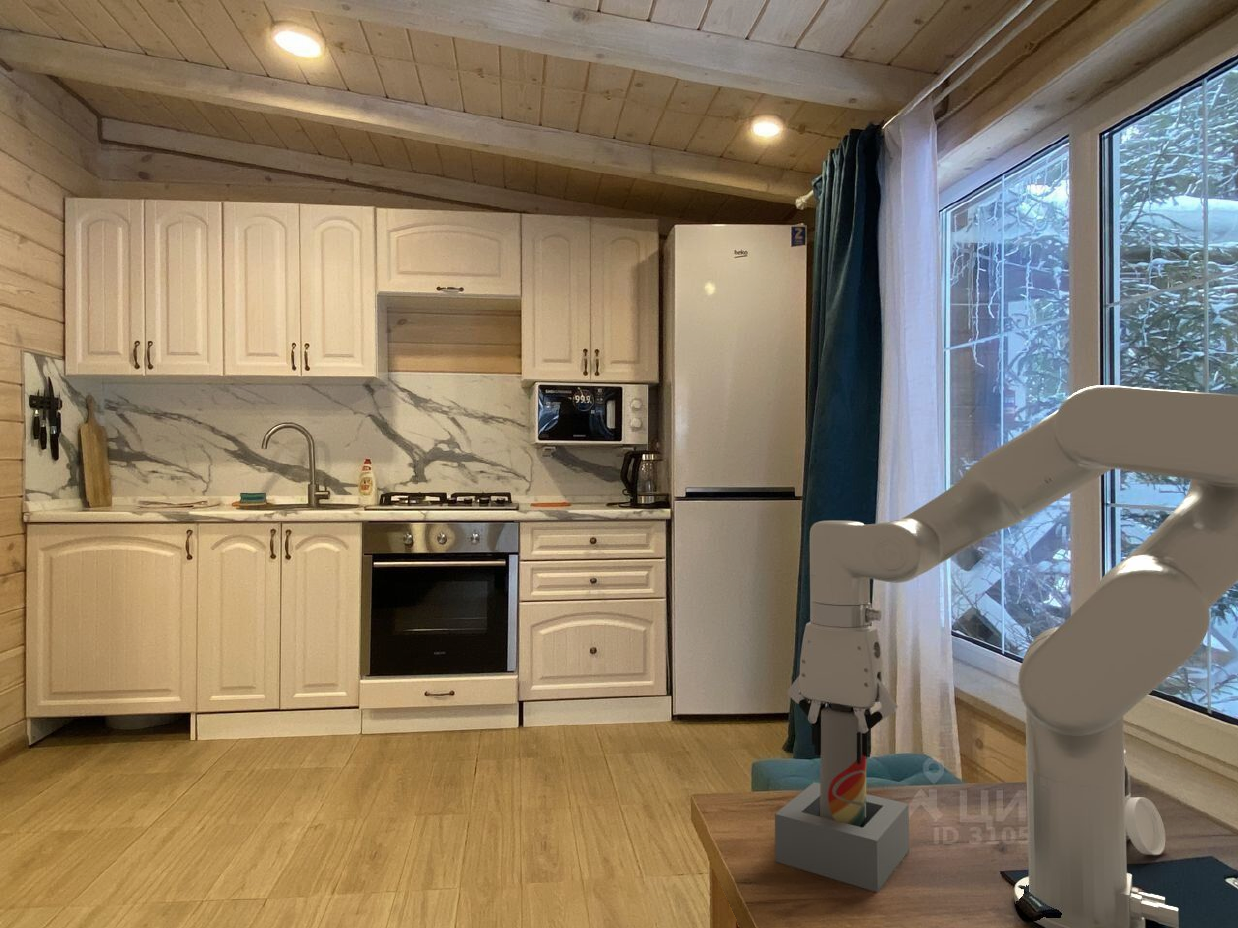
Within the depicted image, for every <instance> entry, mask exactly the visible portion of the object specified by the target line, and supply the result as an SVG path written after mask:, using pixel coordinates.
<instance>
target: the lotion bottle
mask: <svg viewBox="0 0 1238 928" xmlns="http://www.w3.org/2000/svg"><path fill="white" fill-rule="evenodd" d="M859 728H860V727H859V720H858V717H856V716H855V713H854V709H853V708H852V707H847V706H844V705H841V704H829V703H828V705H827V706H826V707H824V708H822V710H821V755H820V769H819V770H820V772H819V773H820V775H819V776H820V777H819V779H820V782H819V783H820V817H823V818H827V819H831V820H835V821H838V822H842V823H846V824H850V825H854V826H858V827H862V828H863V827H864V826H865V825H866V794H867V759H866V756H863V755H862V733H861V764H858V763H857V733H858V732H860V731H859Z"/></svg>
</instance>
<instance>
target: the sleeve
mask: <svg viewBox="0 0 1238 928" xmlns="http://www.w3.org/2000/svg"><path fill="white" fill-rule="evenodd" d="M909 805H910V804H909V803H906V802H902V801H899V800H893V799H889V798H886V797H880V796H876V795H873V794H872V795H871V794H868V793H866V825H865V826H864V827H863V828H862V827H858V826H854V825H850V824H846V823H842V822H838V821H835V820H831V819H827V818H823V817H820V782H815V781H814V782H812V783H811V784H809V785H808V786H807V787H806V788H805V789H804V790H802V792H800V793H799V794H797V795H796V796H795V797H794V798H792V799H791V800H790V801H789V802H787V803H786V804H785V805H784V806H783V807H781V808H780V809H779V810H778V811H776V813H774V842H775V843H774V848H775V850H774V852H775V860H774V861H775V862H776V863H778V864H783V865H786V866H789V867H792V868H795V869H799V870H802V871H806V872H810V873H812V874H815V875H818V876H822V877H825V878H829V879H832V880H835V881H838V882H842V883H845V884H849V885H850V886H855V887H858V888H862V889H864V890H867V891H872V892H874V893H879V891H881V889H882V887H883V886H884V884H885V883H886V882H887V880H889V878H890V877H891V876H892V874H893V873H894V871H895V870H896V869H897V868H898V866H899V865H900V863H901V862H902V861H903V859H905V856H906V855H907V854H908V853H909V851H910V814H909V813H910V808H909V807H910V806H909Z"/></svg>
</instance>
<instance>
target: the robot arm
mask: <svg viewBox="0 0 1238 928" xmlns="http://www.w3.org/2000/svg"><path fill="white" fill-rule="evenodd" d="M1113 469H1115V470H1121V471H1127V472H1134V473H1140V474H1148V475H1149V474H1150V475H1156V476H1164V477H1172V478H1173V477H1174V478H1181V479H1190V480H1189V481H1190V482H1189V487H1188V490H1187V493H1186V495H1185V497H1184V498H1183V500H1182V501H1181V503H1180V504H1179V505H1178V506H1177V507H1176V508H1175V509H1174V510H1173V511H1172V512H1171V513H1170V514H1169V516H1167V517H1166V519H1164V521H1163V522H1161V524H1160V525H1159V526H1158V527H1157V529H1156V530H1154V531H1153V532H1152V533H1151V534H1150V535H1149V536H1148V537H1147V538H1146V539H1145V540H1143V542H1142V543H1141V544H1140V545H1139V546H1137V547H1136V548H1135V549H1134V550H1133V551H1132V552H1131V553H1130V554H1129V555H1127V556H1126V557H1125V558H1124V559H1123V560H1122V561H1121V562H1119V563H1118V564H1117V565H1115V566H1114V567H1112V568H1111V569H1109V570H1108V571H1107V572H1106V573H1105V574H1104V575H1103V576H1102V578H1101V579H1100V581H1099V582H1098V584H1097V587H1096V589H1095V591H1094V592H1093V594H1091V595H1090V596H1089V597H1088V599H1086V601H1084V602H1083V604H1081V606H1079V608H1077V609H1076V610H1075V611H1074V612H1073V613H1072V614H1071V615H1070V616H1069V617H1068V618H1067V619H1066V620H1065V621H1064V622H1062V624H1061V625H1059V626H1056V627H1055V626H1054V627H1051V628H1049V629H1047V630H1045V631H1043V632H1041V633H1040V634H1039V635H1037V636H1036V637H1035V638H1034V639H1033V640H1032V641H1031V643H1030V644H1029V646H1028V647H1027V650H1026V651H1025V653H1024V656H1023V659H1022V663H1021V666H1020V668H1019V672H1018V681H1017V683H1018V692H1019V695H1020V698H1021V701H1022V703H1023V705H1024V707H1025V739H1026V741H1025V742H1026V743H1025V748H1026V749H1025V753H1026V764H1025V765H1026V808H1027V809H1026V810H1027V852H1028V853H1027V854H1028V855H1027V856H1028V876H1026V877H1023V878H1022V879H1020V880H1018V881H1017V882H1016V883H1015V885H1014V888H1013V899H1014V902H1015V903H1016V901H1019V899H1020V898H1021V897H1022V896H1023V894H1024V889H1021V888H1020V887H1021V886H1025V887H1026V885H1027V886H1028V885H1029V892H1030V893H1031V894H1032V895H1033V896H1034V897H1036V898H1038V899H1039V900H1041V901H1042V902H1043V903H1045V904H1046V905H1048V906H1050V907H1052V908H1054V909H1057V910H1059V911H1060V912H1061V913H1062V915H1061V918H1046V917H1043V918H1041V919H1040V920H1037V921H1034V923H1037V924H1038V925H1040V926H1042V927H1044V928H1146V920H1149V921H1152V922H1153V921H1154V922H1156V923H1158V924H1160V925H1165V926H1168V927H1170V928H1171V927H1172V928H1180V927H1179V923H1180V922H1179V921H1180V920H1179V908H1178V907H1176V906H1171V905H1168V904H1166V896H1163V895H1158V894H1155V893H1148V892H1145V891H1144V892H1143V891H1140V890H1139V887H1135V886H1133V874H1131V873H1128V870H1127V869H1128V868H1127V841H1126V824H1125V783H1124V781H1125V765H1126V763H1124V750H1125V737H1124V736H1125V735H1124V734H1125V733H1124V732H1125V731H1124V716H1125V715H1127V713H1128V712H1130V711H1131V710H1132V709H1133V708H1134V707H1136V706H1137V705H1139V703H1140V702H1141V701H1142V700H1144V699H1145V698H1146V697H1148V695H1150V694H1151V693H1152V691H1154V690H1155V689H1157V687H1158V686H1160V685H1161V684H1162V683H1163V682H1164V681H1165V680H1167V679H1168V677H1170V676H1171V675H1172V674H1173V673H1174V672H1176V671H1177V670H1178V669H1179V668H1180V667H1181V666H1182V665H1184V663H1185V662H1186V661H1188V660H1189V659H1190V657H1192V655H1193V654H1194V653H1195V652H1196V651H1197V650H1198V648H1199V647H1200V646H1201V644H1202V643H1203V641H1204V639H1205V637H1206V636H1207V633H1208V630H1209V626H1210V608H1211V607H1213V605H1215V603H1216V602H1218V600H1220V599H1221V598H1222V597H1223V596H1224V595H1225V594H1226V593H1227V592H1229V590H1230V589H1231V588H1232V587H1233V586H1234V585H1235V584H1236V583H1237V582H1238V394H1228V393H1212V392H1198V391H1183V390H1171V389H1170V390H1168V389H1156V388H1145V387H1144V388H1143V387H1134V386H1133V387H1132V386H1122V385H1111V384H1110V385H1108V384H1107V385H1106V384H1103V385H1093V386H1089V387H1088V386H1087V387H1085V388H1083V389H1080V390H1077V392H1074V393H1072V394H1071V395H1070V396H1069V397H1067V399H1065V401H1063V403H1062V404H1061V405H1060V406H1059V408H1058V409H1057V410H1056V411H1055V412H1053V413H1052V414H1050V415H1047V417H1045V418H1044V419H1042V420H1040V421H1039V422H1037V423H1036V424H1034V425H1033V426H1031V427H1030V428H1028V429H1027V430H1025V431H1023V432H1022V433H1020V434H1018V435H1017V436H1016V437H1014V438H1012V439H1011V440H1009V441H1007V442H1006V443H1004V444H1001V446H999V447H997V448H996V449H994V450H992V451H991V452H989V453H988V454H985V455H983V457H981V458H980V459H978V460H977V461H976V462H975V463H974V464H973V465H971V467H969V469H968V470H967V471H966V472H965V474H964V475H963V476H962V477H961V478H960V479H959V480H958V481H957V482H956V483H954V484H953V485H952V486H951V487H950V488H948V489H947V490H945V491H944V492H943V493H941V494H940V495H938V496H937V497H935V498H933V499H932V500H930V501H929V502H927V503H926V504H924V505H922V506H921V507H919V508H917V509H915V510H913V512H911V513H909V514H907V515H906V516H904V517H902V518H900V519H897V520H892V521H886V522H879V523H870V524H864V522H861V521H855V520H835V519H834V520H821V521H818V522H815V523H813V524H812V526H811V527H810V530H809V589H810V590H809V591H810V592H809V595H810V596H809V597H810V600H809V608H810V610H809V611H810V612H809V613H810V614H809V619H810V620H809V622H806V624H805V627H804V633H803V637H802V644H801V650H800V651H801V652H800V659H799V674H798V676H797V678H796V679H795V680H794V681H793V683H792V684H791V685H790V687H788V689H787V695H788V696H789V697H790V698H791V699H792V701H794V702H795V703H796V704H798V706H799V708H800V709H801V711H803V713H804V714H805V715H806V716H807V720H808V722H809V723H810V724H811V745H812V746H813V747H814V755H815V756H821V710H822V708H824V707H826V706H828V705H829V704H841V705H844V706H847V707H852V708H853V709H854V713H855V716H856V717H858V720H859V727H860V728H859V731H860V732H858V733H857V763H858V764H861V733H862V755H863V756H866V760H867V759H868V757H869V758H870V756H871V754H872V729H873V728H874V727H875V726H876V725H878V723H880V722H881V721H883V720H884V719H886V718H888V717H890V716H892V715H893V714H895V713H896V712H897V711H898V710H899V706H898V705H897V703H896V701H895V700H894V698H893V697H892V695H891V694H890V693H889V691H888V690H887V688H886V687H885V685H886V683H885V672H884V664H883V663H884V662H883V654H882V648H881V641H880V637H879V636H880V635H879V631H878V628H877V627H876V626H872V625H871V624H872V623H873V622H875V621H876V622H877V621H878V622H880V621H881V619H882V612H881V610H878V609H875V608H873V606H872V603H871V596H870V595H871V594H870V593H871V591H870V590H871V582H870V581H871V580H876V581H881V582H886V583H894V584H897V583H898V584H899V583H905V582H909V581H911V580H914V579H916V578H917V577H919V576H921V575H923V574H925V573H927V572H928V571H930V570H932V569H934V568H935V567H937V566H939V565H940V564H943V563H944V562H946V561H947V560H949V559H950V558H953V557H954V556H956V555H957V554H959V553H961V552H963V551H964V550H966V549H968V548H969V547H971V546H973V545H975V544H977V543H978V542H980V541H982V540H984V539H986V538H987V537H990V536H991V535H992V534H994V533H997V532H999V531H1001V530H1005V529H1007V528H1011V527H1013V526H1015V525H1017V524H1019V523H1021V522H1022V521H1024V520H1026V519H1028V518H1029V517H1031V516H1033V515H1035V514H1036V513H1038V512H1040V511H1041V510H1043V509H1045V508H1047V507H1048V506H1050V505H1052V504H1054V503H1056V502H1057V501H1059V500H1060V499H1062V498H1064V497H1066V496H1068V495H1069V494H1071V493H1074V492H1075V491H1076V490H1078V489H1080V488H1081V487H1083V486H1085V485H1087V484H1089V483H1090V482H1091V481H1092V482H1093V481H1094V480H1096V479H1097V478H1099V477H1101V476H1102V475H1104V474H1107V473H1108V472H1110V471H1111V470H1113ZM878 702H879V703H880V704H881V707H880V708H878V709H876V710H875V711H874V712H873V711H872V708H873V707H874V706H875V704H876V703H878Z"/></svg>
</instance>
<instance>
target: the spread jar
mask: <svg viewBox="0 0 1238 928" xmlns="http://www.w3.org/2000/svg"><path fill="white" fill-rule="evenodd" d="M1126 762H1127V751H1126V749H1124V763H1125V781H1124V783H1125V824H1126V842H1129V840H1130V842H1131V843H1132V844H1133V846H1134V847H1135V849H1136V850H1137V851H1139V852H1140V853H1141V854H1143V855H1146V856H1147V855H1148V856H1159V855H1161V854H1162V853H1163V851H1164V850H1165V848H1166V847H1165V846H1166V832H1165V825H1164V822H1163V820H1162V817H1161V815H1160V813H1159V810H1158V809H1157V807H1156V806H1155V804H1154V803H1153V802H1152V801H1151V800H1150V799H1149V798H1146V797H1144V796H1143V797H1138V796H1137V797H1131V777H1130V773H1129V770H1128V767H1127V765H1126Z"/></svg>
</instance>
